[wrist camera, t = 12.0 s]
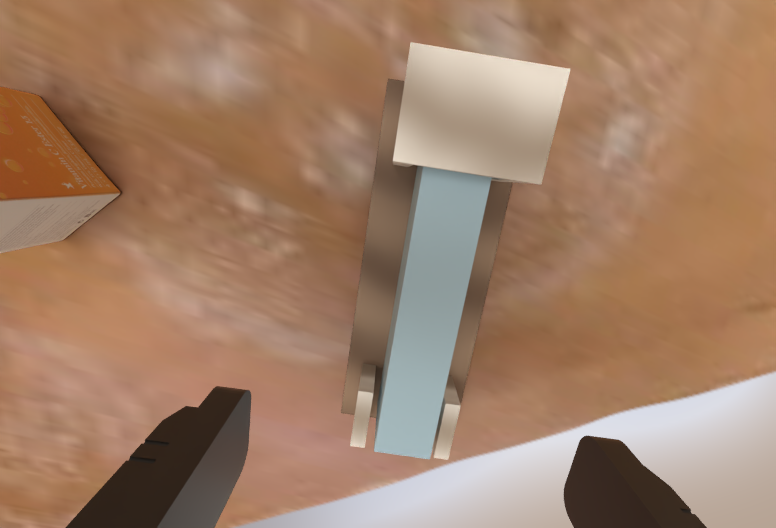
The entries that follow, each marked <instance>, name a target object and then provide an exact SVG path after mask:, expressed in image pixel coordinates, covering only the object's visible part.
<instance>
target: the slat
mask: <svg viewBox="0 0 776 528" xmlns="http://www.w3.org/2000/svg"><path fill="white" fill-rule="evenodd" d="M491 179H492V177H486V176H480V175H474V174H467V173H461V172H455V171H449V170H442V169H436V168H430V167H424V166H417V172H416V178H415V184H414V190H413V196H412V202H411V208H410V213H409V219H408V225H407V231H406V237H405V243H404V249H403V255H402V261H401V267H400V273H399V278H398V284H397V290H396V296H395V302H394V308H393V314H392V320H391V326H390V332H389V338H388V343H387V349H386V355H385V361H384V367H383V373H382V379H381V385H380V391H379V397H378V402H377V416H376V431H375V445H374V451H375V452H382V453H389V454H396V455H403V456H410V457H417V458H424V459H430V456H431V452H432V447H433V443H434V438H435V434H436V429H437V425H438V420H439V415H440V411H441V406H442V402H443V397H444V393H445V388H446V384H447V379H448V375H449V370H450V365H451V361H452V356H453V352H454V347H455V343H456V338H457V334H458V329H459V325H460V320H461V315H462V311H463V306H464V302H465V297H466V293H467V288H468V284H469V279H470V275H471V270H472V265H473V261H474V256H475V252H476V247H477V243H478V238H479V234H480V229H481V225H482V220H483V215H484V211H485V206H486V202H487V197H488V193H489V188H490V184H491Z"/></svg>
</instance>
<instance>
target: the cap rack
mask: <svg viewBox="0 0 776 528" xmlns="http://www.w3.org/2000/svg"><path fill="white" fill-rule="evenodd" d="M569 73H570V69H568V68H562V67H556V66H550V65H544V64H538V63H532V62H526V61H520V60H514V59H508V58H502V57H496V56H490V55H484V54H478V53H472V52H466V51H460V50H454V49H448V48H442V47H436V46H431V45H425V44H419V43H413V42H411V43H410V50H409V57H408V63H407V70H406V76H405V81H400V80H393V79H388V82H387V89H386V96H385V103H384V110H383V118H382V125H381V132H380V139H379V146H378V153H377V160H376V167H375V174H374V182H373V189H372V196H371V203H370V210H369V217H368V224H367V231H366V238H365V246H364V253H363V260H362V267H361V274H360V281H359V288H358V295H357V302H356V310H355V317H354V324H353V331H352V338H351V345H350V352H349V359H348V367H347V374H346V381H345V388H344V395H343V402H342V409H341V413H345V414H352V415H355V416H354V423H353V430H352V436H351V443H350V446H355V447H362V448H365V442H366V436H367V430H368V424H369V418H370V417H373V418H376V416H377V402H378V397H379V391H380V385H381V379H382V373H383V367H384V361H385V355H386V349H387V343H388V338H389V332H390V326H391V320H392V314H393V308H394V302H395V296H396V290H397V284H398V278H399V273H400V267H401V261H402V255H403V249H404V243H405V237H406V231H407V225H408V219H409V213H410V208H411V202H412V196H413V190H414V184H415V178H416V172H417V166H424V167H430V168H436V169H442V170H449V171H455V172H461V173H467V174H474V175H480V176H486V177H492V179H491V184H490V188H489V193H488V197H487V202H486V206H485V211H484V215H483V220H482V225H481V229H480V234H479V238H478V243H477V247H476V252H475V256H474V261H473V265H472V270H471V275H470V279H469V284H468V288H467V293H466V297H465V302H464V306H463V311H462V315H461V320H460V325H459V329H458V334H457V338H456V343H455V347H454V352H453V356H452V361H451V365H450V370H449V375H448V379H447V384H446V388H445V393H444V397H443V402H442V406H441V411H440V415H439V420H438V425H437V429H436V434H435V438H434V443H433V447H432V449H433V456H434V458H440V459H447V460H448V458H449V454H450V449H451V445H452V441H453V437H454V432H455V428H456V424H457V419H458V415H459V411H460V407H461V401H462V397H463V392H464V388H465V384H466V379H467V375H468V371H469V367H470V362H471V358H472V354H473V349H474V345H475V341H476V337H477V332H478V328H479V324H480V319H481V315H482V311H483V307H484V302H485V298H486V294H487V289H488V285H489V281H490V277H491V272H492V268H493V264H494V259H495V255H496V251H497V247H498V242H499V238H500V234H501V230H502V225H503V221H504V217H505V212H506V208H507V204H508V200H509V195H510V191H511V187H512V182H514V183H527V184H540V185H541V184H542V180H543V176H544V172H545V168H546V164H547V160H548V156H549V152H550V148H551V144H552V140H553V136H554V132H555V128H556V124H557V120H558V117H559V113H560V109H561V105H562V101H563V97H564V93H565V89H566V85H567V81H568V77H569Z"/></svg>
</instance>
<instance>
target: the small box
mask: <svg viewBox="0 0 776 528" xmlns="http://www.w3.org/2000/svg"><path fill="white" fill-rule="evenodd" d="M118 195H120V191H119V190H118V189H117V188H116V187H115V185H114V184H113V183H112V182H111V181H110V180H109V179H108V178H107V177H106V176H105V174H104V173H103V172H102V171H101V170H100V169H99V167H98V166H97V165H96V164H95V163H94V162H93V160H92V159H91V158H90V157H89V156H88V154H87V153H86V152H85V151H84V150H83V149H82V147H81V146H80V145H79V144H78V143H77V141H76V140H75V139H74V138H73V137H72V135H71V134H70V133H69V132H68V130H67V129H66V128H65V127H64V126H63V124H62V123H61V122H60V121H59V120H58V118H57V117H56V116H55V115H54V113H53V112H52V111H51V110H50V109H49V107H48V106H47V105H46V104H45V102H44V101H43V100H42V99H41V97H40V96H38V95H35V94H31V93H27V92H22V91H18V90H14V89H10V88H5V87H1V86H0V253H4V252H9V251H14V250H18V249H23V248H28V247H33V246H37V245H43V244H48V243H53V242H58V241H62V240H64V239H65V238H66V237H67V236H69V235H70V234H71V233H73V232H74V231H75V230H76V229H77V228H79V227H80V226H81V225H82V224H84V223H85V222H86V221H87V220H89V219H90V218H91V217H92V216H94V215H95V214H96V213H97V212H98V211H100V210H101V209H102V208H103V207H105V206H106V205H107V204H108V203H109V202H111V201H112V200H113V199H115V198H116V197H117V196H118Z"/></svg>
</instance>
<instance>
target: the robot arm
mask: <svg viewBox="0 0 776 528" xmlns="http://www.w3.org/2000/svg"><path fill="white" fill-rule="evenodd" d="M250 410H251V392H250V391H249V390H242V389H235V388H227V387H220V386H217V387H215V388H214V389H213V390H212V391H211V392H210V394H209V395H208V396H207V397H206V398H205V400H204V401H203V402H202V403H201V405H200V406H199V407H198V408H197V407H189V406H186V407H184V408H182V409H181V410H179V411H177V412H176V413H174V414H173V415H171V416H169V417H168V418H166V419H164V420H163V421H162V422H161V423H160V424H159V425H158V426H157V427H156V428H155V430H154V431H153V432H152V433H151V434H150V435H149V436H148V437H147V438H146V439H145V443H144V444H141V445H140V446H139V447H138V448H137V449H136V450H135V452H134V453H133V454H132V455H131V456H130V459H129V461H126V462H125V463H124V464H123V465H122V466H121V467H120V468H119V469H118V470H117V471H116V473H115V474H114V475H113V476H112V477H111V478H110V479H109V480H108V481H107V482H106V484H105V485H104V486H103V487H102V488H101V489H100V490H99V491H98V492H97V494H96V495H95V496H94V497H93V498H92V499H91V500H90V501H89V502H88V503H87V505H86V506H85V507H84V508H83V509H82V510H81V511H80V512H79V513H78V514H77V516H76V517H75V518H74V519H73V520H72V521H71V522H70V523H69V524H68V526H67V527H66V528H214V527H215V525H216V523H217V521H218V519H219V517H220V515H221V513H222V511H223V509H224V507H225V505H226V503H227V501H228V499H229V497H230V495H231V493H232V491H233V488H234V486H235V484H236V482H237V480H238V478H239V476H240V474H241V472H242V469H243V466H244V463H245V460H246V456H247V451H248V444H249V427H250ZM564 502H565V507H566V511H567V514H568V516H569V519H570V521H571V523H572V525H573V526H574V528H707V527H706V526H705V525H704V524H703V523H702V522H701V521H700V520H699V518H698V517H697V516H696V515H695V514H692V513H691V510H690V508H689V507H688V506H687V505H686V504H685V503H684V501H682V499H681V498H680V497H679V496H678V495H677V494H676V492H675V491H674V490H673V489H672V488H671V487H670V486H669V485H667V484H666V483H665V482H664V481H663V480H661V479H660V478H659V477H658V476H656V475H655V474H654V473H652V472H651V471H650V470H649V469H647V468H646V467H645V466H643V465H642V464H641V462H640V461H639V460H638V459H637V458H636V457H635V455H634V454H633V453H632V452H631V451H630V450H629V449H628V447H627V446H626V445H625V444H624V443H623V442H621V441H620V440H615V439H607V438H601V437H593V436H584V437H583V438H582V439H581V440H580V442H579V445H578V448H577V451H576V454H575V457H574V460H573V463H572V466H571V469H570V472H569V475H568V477H567V481H566V483H565V488H564Z"/></svg>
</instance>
